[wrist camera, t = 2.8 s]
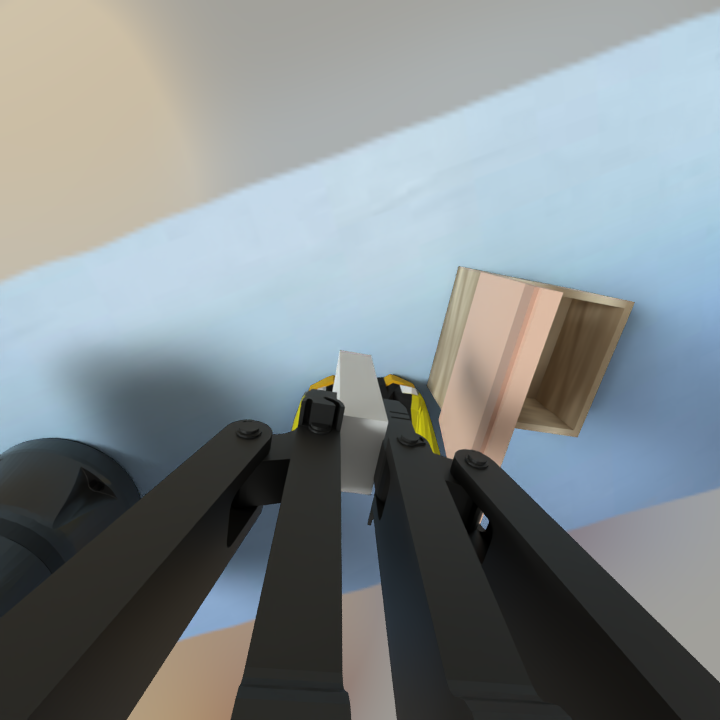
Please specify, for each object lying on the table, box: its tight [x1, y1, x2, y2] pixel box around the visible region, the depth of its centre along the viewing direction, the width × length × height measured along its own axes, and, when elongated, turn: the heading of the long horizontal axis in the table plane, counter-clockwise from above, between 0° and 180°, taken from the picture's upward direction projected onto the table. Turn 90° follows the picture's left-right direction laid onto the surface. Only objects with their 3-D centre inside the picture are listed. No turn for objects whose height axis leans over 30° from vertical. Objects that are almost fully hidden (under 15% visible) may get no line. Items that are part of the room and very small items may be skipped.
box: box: [427, 266, 635, 437], centre depth 32 cm, size 12×12×7 cm
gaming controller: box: [291, 374, 440, 455], centre depth 35 cm, size 15×6×10 cm
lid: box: [439, 272, 563, 523], centre depth 22 cm, size 12×12×1 cm
